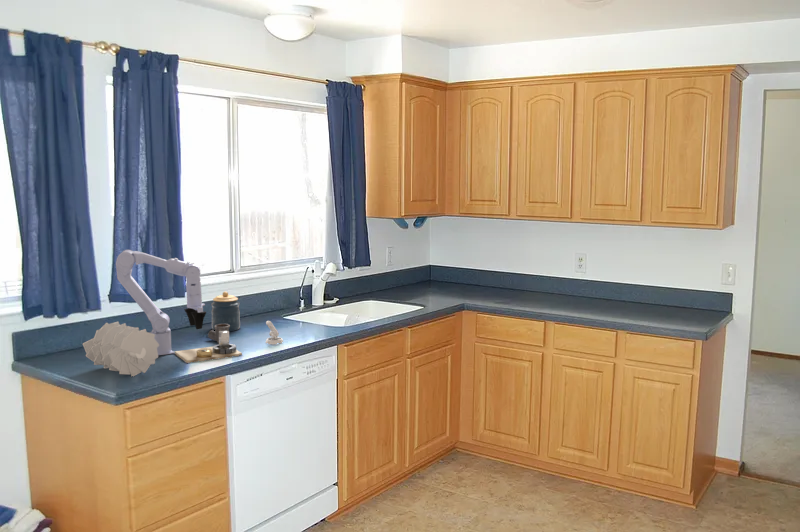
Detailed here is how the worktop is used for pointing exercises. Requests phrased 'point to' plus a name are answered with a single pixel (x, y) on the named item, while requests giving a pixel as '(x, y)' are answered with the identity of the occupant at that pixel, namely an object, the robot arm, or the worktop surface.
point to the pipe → (215, 334)
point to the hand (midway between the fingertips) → (196, 327)
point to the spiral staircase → (122, 348)
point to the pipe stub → (223, 339)
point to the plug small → (204, 353)
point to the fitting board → (192, 357)
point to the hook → (273, 334)
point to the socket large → (224, 349)
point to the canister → (226, 311)
